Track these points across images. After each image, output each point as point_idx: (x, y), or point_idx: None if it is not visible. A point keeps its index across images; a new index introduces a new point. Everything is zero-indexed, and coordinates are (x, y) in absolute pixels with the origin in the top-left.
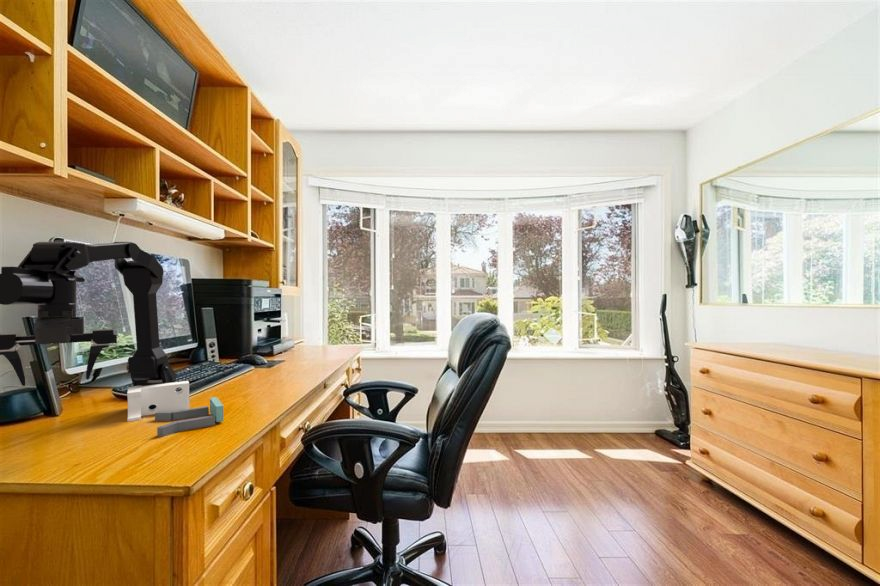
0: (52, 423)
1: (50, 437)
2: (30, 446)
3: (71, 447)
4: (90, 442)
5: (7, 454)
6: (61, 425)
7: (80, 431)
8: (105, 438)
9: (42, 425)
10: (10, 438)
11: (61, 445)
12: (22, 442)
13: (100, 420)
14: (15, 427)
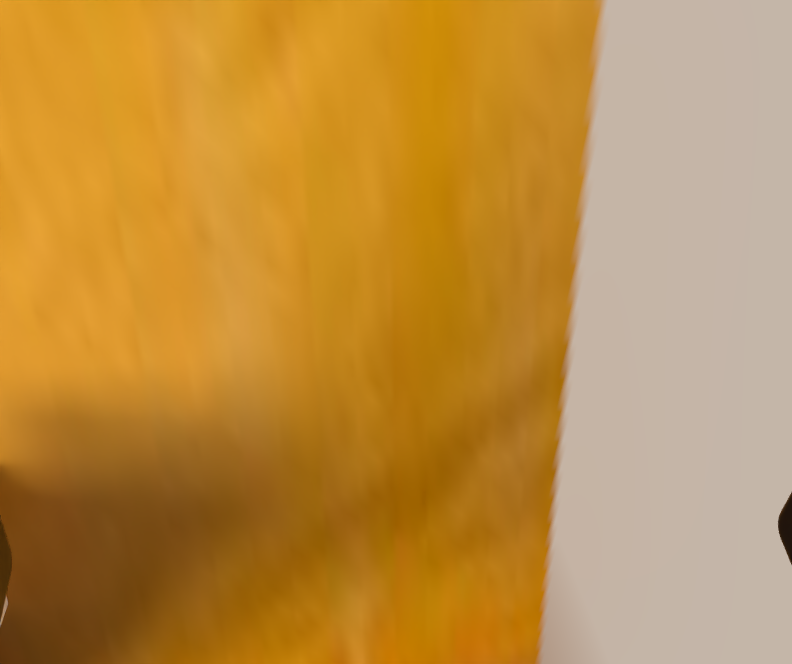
0: (379, 650)
1: (383, 422)
2: (475, 306)
3: (257, 94)
4: (143, 136)
5: (581, 219)
6: (341, 603)
7: (240, 447)
8: (50, 172)
9: (418, 640)
10: (542, 513)
11: (321, 201)
12: (504, 412)
13: (159, 597)
14: (513, 661)
